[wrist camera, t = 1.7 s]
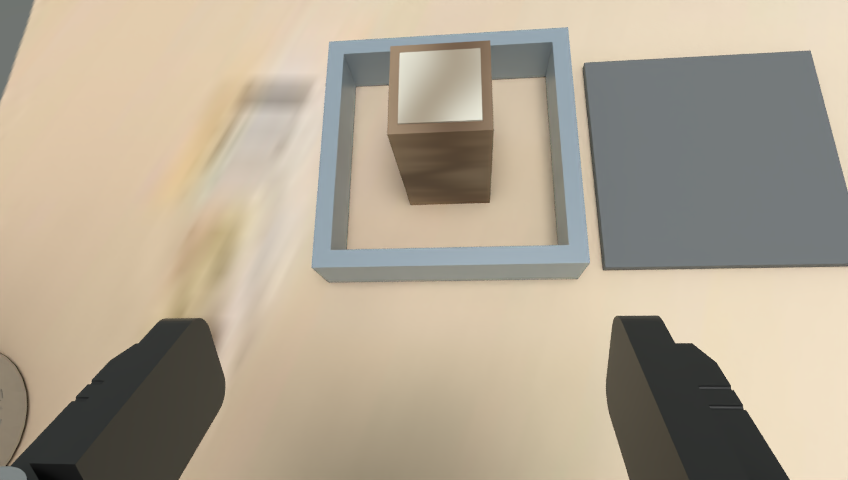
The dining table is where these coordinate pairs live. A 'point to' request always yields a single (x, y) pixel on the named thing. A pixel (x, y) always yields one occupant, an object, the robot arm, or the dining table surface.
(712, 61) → the rubber mat
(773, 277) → the dining table surface
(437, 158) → the walnut box
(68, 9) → the dining table surface
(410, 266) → the grey bin
